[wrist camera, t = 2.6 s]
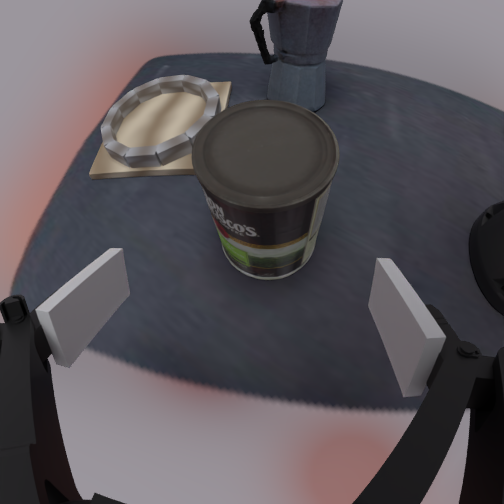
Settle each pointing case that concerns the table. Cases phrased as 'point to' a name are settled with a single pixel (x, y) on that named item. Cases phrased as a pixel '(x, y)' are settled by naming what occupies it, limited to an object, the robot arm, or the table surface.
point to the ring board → (157, 127)
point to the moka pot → (297, 48)
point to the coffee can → (266, 183)
